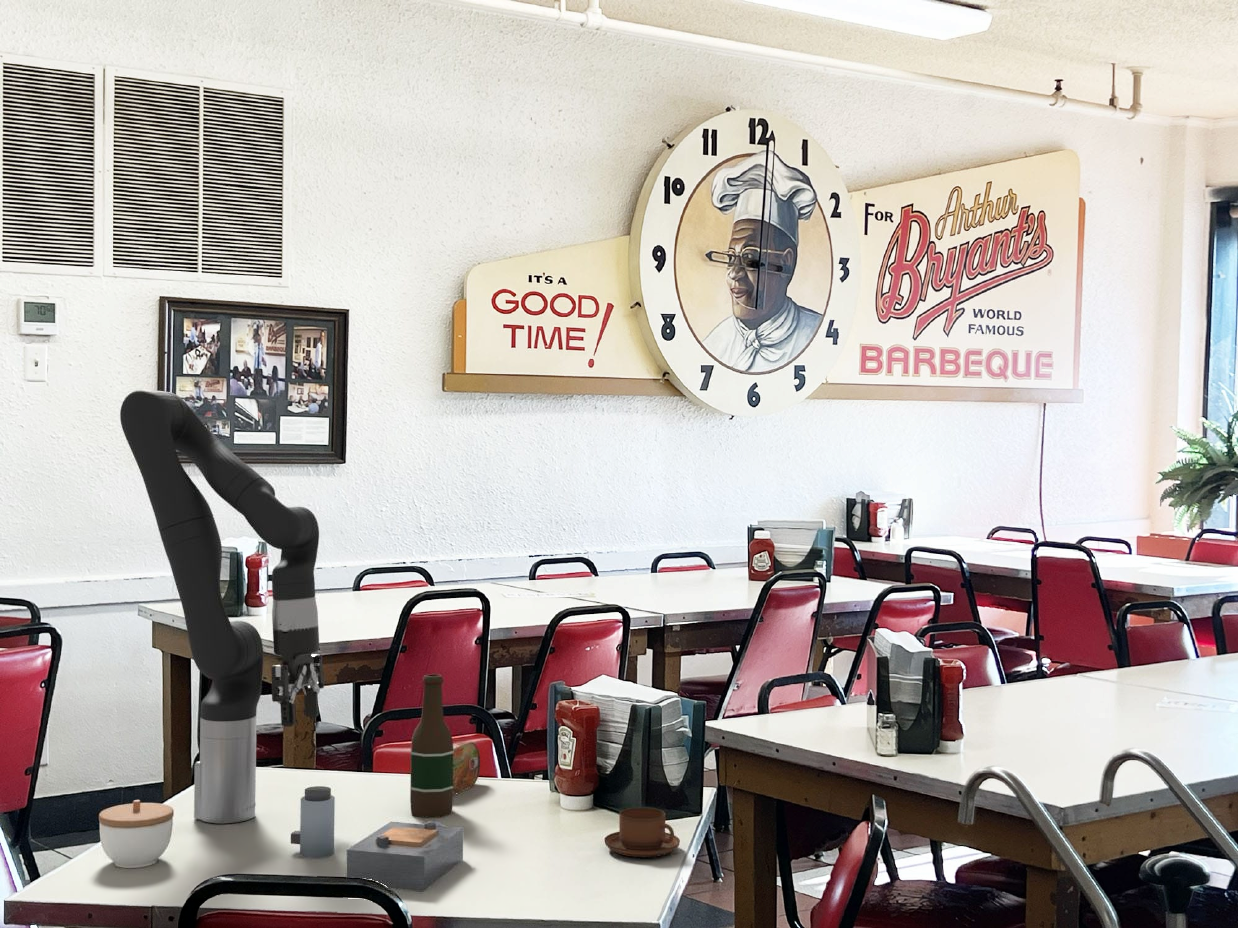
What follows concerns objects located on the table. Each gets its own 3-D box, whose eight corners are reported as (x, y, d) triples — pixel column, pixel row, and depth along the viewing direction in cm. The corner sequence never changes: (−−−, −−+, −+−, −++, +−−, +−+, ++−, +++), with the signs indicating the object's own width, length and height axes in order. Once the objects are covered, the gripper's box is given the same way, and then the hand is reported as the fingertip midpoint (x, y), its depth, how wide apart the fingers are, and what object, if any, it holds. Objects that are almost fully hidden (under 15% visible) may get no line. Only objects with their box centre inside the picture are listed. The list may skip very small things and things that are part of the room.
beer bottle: (445, 819, 235) (447, 679, 235) (402, 816, 237) (404, 677, 237) (459, 808, 243) (461, 672, 243) (417, 805, 245) (419, 670, 244)
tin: (444, 800, 249) (444, 754, 249) (428, 798, 250) (429, 752, 250) (481, 782, 263) (482, 738, 263) (466, 780, 264) (467, 737, 264)
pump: (285, 855, 213) (285, 791, 213) (300, 846, 218) (301, 783, 218) (324, 859, 212) (325, 794, 211) (339, 849, 217) (340, 786, 217)
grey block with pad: (346, 883, 199) (346, 841, 199) (403, 843, 220) (404, 805, 220) (424, 891, 197) (424, 847, 197) (474, 850, 217) (475, 810, 217)
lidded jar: (181, 866, 207) (181, 803, 207) (106, 876, 201) (107, 812, 201) (163, 848, 216) (163, 788, 216) (91, 858, 210) (92, 796, 210)
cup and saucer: (688, 845, 222) (689, 807, 222) (666, 866, 211) (667, 826, 211) (618, 838, 226) (619, 800, 226) (593, 858, 215) (594, 818, 215)
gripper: (294, 620, 240) (299, 713, 240) (254, 630, 226) (259, 729, 226) (334, 619, 238) (339, 713, 238) (296, 629, 224) (301, 729, 224)
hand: (300, 721), depth 232 cm, fingers open, 8 cm apart
